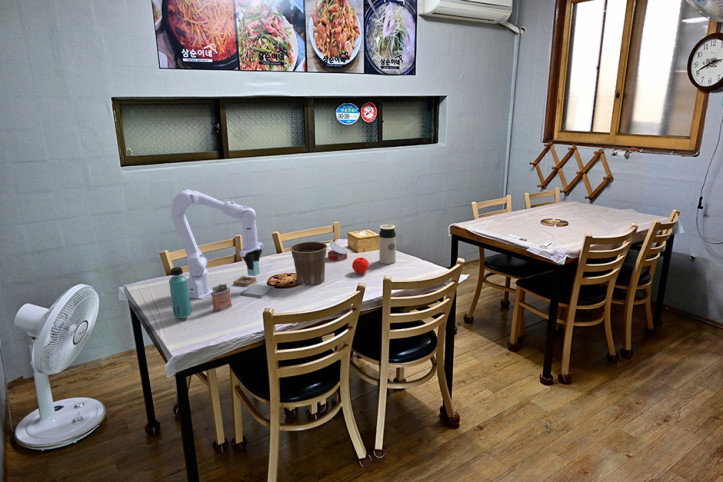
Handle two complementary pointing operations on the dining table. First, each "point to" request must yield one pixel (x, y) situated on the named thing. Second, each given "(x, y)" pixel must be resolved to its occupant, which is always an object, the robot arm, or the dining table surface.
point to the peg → (254, 269)
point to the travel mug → (387, 244)
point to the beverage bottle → (179, 293)
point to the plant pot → (309, 262)
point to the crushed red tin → (221, 298)
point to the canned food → (337, 252)
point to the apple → (360, 265)
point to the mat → (257, 290)
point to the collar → (249, 279)
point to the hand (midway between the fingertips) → (253, 267)
